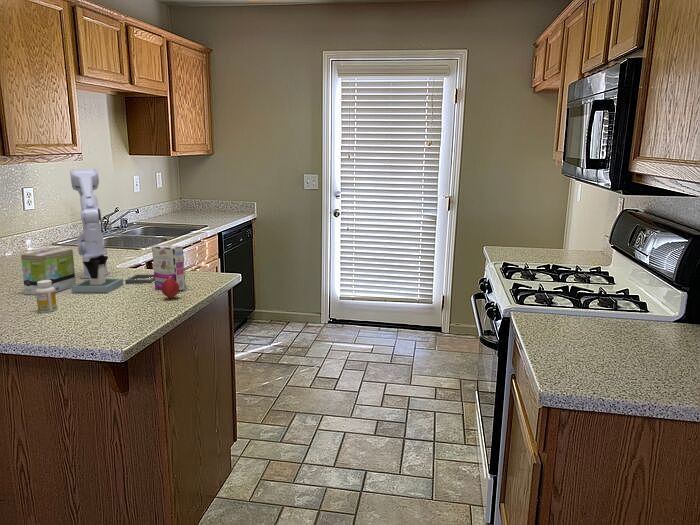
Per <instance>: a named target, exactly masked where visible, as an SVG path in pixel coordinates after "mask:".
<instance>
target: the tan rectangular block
mask: <svg viewBox="0 0 700 525" xmlns="http://www.w3.org/2000/svg"><path fill="white" fill-rule="evenodd" d="M88 279H90V285H101V284H103V283H105V282H106V279H107V278H106V275H105V268H104V264H99V265H98V277H97V279H91V277H90V274H89V278H88Z"/></svg>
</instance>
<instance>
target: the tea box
mask: <svg viewBox="0 0 700 525" xmlns="http://www.w3.org/2000/svg"><path fill="white" fill-rule="evenodd" d="M20 256H21V257H20V258H21V267H22V268H21V269H22V280H23V289H24V294H25V295H33V296H34V295H35V296H36V289H37V288H39V287H38V286H37V282H38V281H42V280H51V282H52V285H51V287H54V289H55V293H57V292H60V291H64V290H68V289H72V288H71V287H72V286H74V285H76V284H77V283H76V273H75V272H76V270H75V261H74V252H73V249H71V248H46V249H42V250H37V251H32V252H28V253H23V254H20Z"/></svg>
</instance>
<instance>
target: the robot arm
mask: <svg viewBox="0 0 700 525" xmlns="http://www.w3.org/2000/svg"><path fill="white" fill-rule="evenodd" d="M69 174H70V183H71V188H72V190H74V191H77V193H78V194H79V197H80V198H79V201H80V202H79V203H80V208H81V210H80V216H81V217H80V218H81V223H82V228H83V231H82V232H81V233H80V234H79V235H78V236H77V241H76V242H77V243H76V244H77V252H78V255H79V256H81V257H82V258H81V260H82V266H83V275H81V276H80V277H79V278H80V279H89V274H90V277H91V279H97V277H98V265H99V264H104V268H105V276H107V275H110V272H109V271H108V267H107V264H108V263H107V262H108V259H109V257H108V250H107V249H105V240H104V236H103V234H102V225H101V224H102V219H103V218H102V212H101V208H100V206H99V203H98V198H97V197H96V195H95V194H93V192H94V191H96V190H98V188H99V184H100V180H99V178H100V177H99V170H98V169H97V168H90V169H88V168H82V169H81V168H80V169H79V168H78V169H76V168H75V169H74V168H71V169H70V172H69Z"/></svg>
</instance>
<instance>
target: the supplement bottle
mask: <svg viewBox="0 0 700 525" xmlns="http://www.w3.org/2000/svg"><path fill="white" fill-rule="evenodd" d="M51 285H52V282H51V280H42V281H38V282H37V286H38V287H39V288H37V289H36V295H35V296H36V303H37V304H36V305H37V312H39V313H42V314H43V313H44V314H45V313H52V312H55V311H56V310H57V309H58V306H57V296H56V292H55V289H54V287H51Z"/></svg>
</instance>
